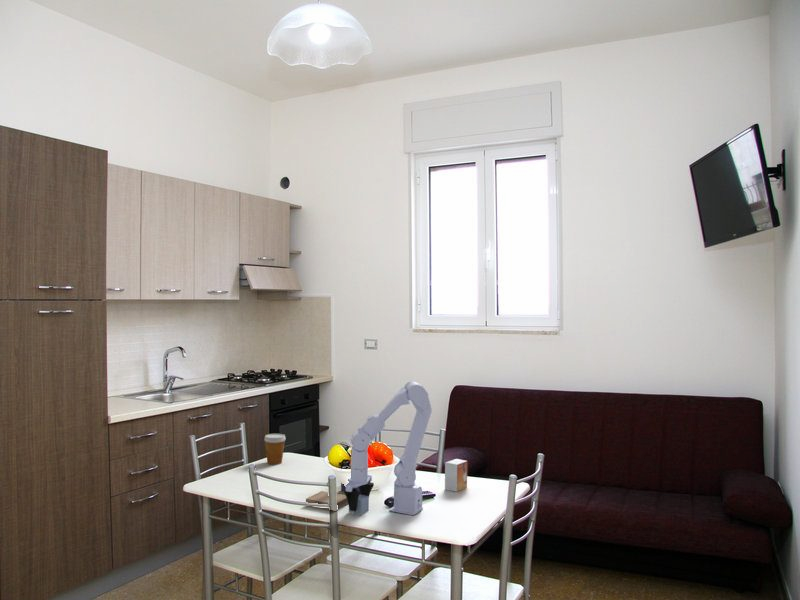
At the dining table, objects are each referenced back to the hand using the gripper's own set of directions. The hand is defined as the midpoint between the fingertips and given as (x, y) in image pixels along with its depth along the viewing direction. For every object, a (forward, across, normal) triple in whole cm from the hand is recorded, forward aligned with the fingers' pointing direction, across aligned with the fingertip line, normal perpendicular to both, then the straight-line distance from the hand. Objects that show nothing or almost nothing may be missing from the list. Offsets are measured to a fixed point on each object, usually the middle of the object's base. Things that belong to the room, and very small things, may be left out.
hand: (358, 507), depth 211 cm
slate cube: (+2, 0, 0) cm, 2 cm away
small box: (+2, -41, +20) cm, 46 cm away
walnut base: (+1, -1, -13) cm, 13 cm away
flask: (+2, -17, -13) cm, 21 cm away
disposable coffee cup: (+2, -37, -64) cm, 74 cm away
